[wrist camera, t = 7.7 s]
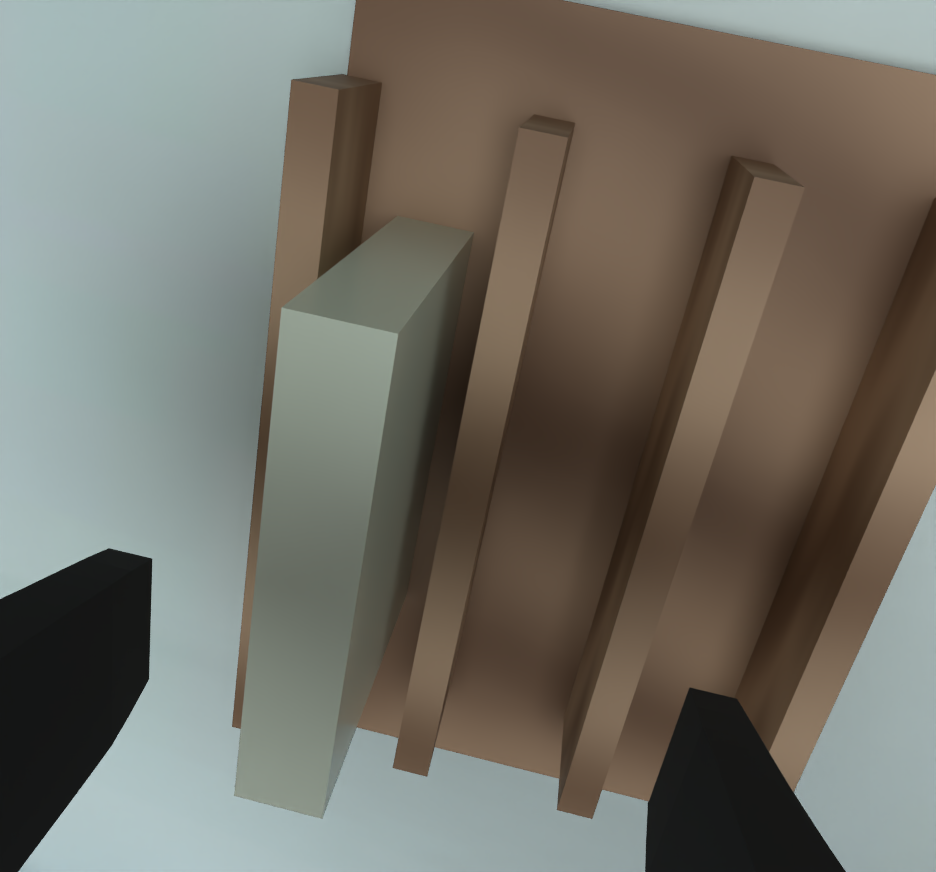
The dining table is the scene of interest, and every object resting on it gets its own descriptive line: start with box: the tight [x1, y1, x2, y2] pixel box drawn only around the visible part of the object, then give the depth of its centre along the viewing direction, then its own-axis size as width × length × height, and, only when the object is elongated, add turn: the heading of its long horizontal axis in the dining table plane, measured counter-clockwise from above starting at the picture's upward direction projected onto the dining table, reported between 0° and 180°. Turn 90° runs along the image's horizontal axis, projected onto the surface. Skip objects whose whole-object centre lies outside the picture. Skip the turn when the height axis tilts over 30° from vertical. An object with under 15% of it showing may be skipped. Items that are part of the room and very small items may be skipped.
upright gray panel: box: [234, 216, 474, 819], centre depth 17 cm, size 9×2×7 cm, turn 170°
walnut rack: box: [232, 0, 936, 819], centre depth 19 cm, size 18×12×4 cm
